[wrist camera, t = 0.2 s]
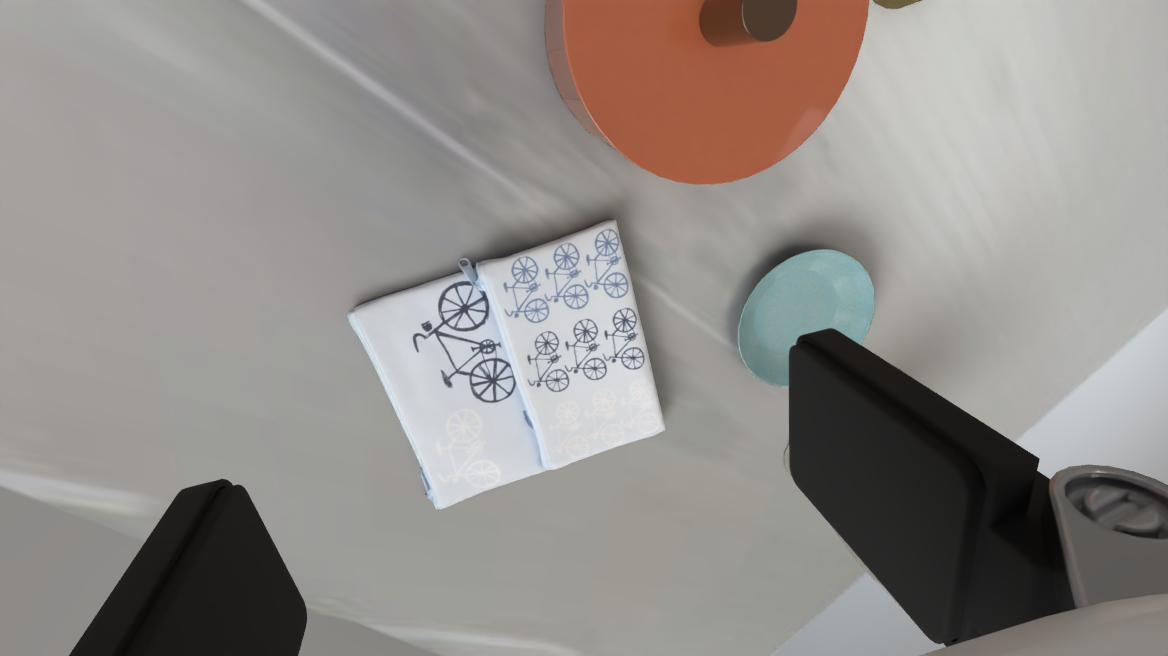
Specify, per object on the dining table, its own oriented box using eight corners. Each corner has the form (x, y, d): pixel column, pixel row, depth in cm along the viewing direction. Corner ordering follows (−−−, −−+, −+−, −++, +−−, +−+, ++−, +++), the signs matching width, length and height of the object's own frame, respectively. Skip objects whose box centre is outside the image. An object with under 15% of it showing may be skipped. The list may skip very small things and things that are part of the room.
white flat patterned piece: (661, 426, 48) (670, 441, 47) (430, 503, 47) (429, 521, 45) (615, 212, 40) (623, 218, 38) (333, 295, 38) (327, 306, 36)
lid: (527, -157, 25) (548, -220, 20) (862, -199, 27) (961, -267, 22) (586, 207, 32) (612, 232, 26) (849, 151, 34) (922, 164, 28)
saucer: (868, 336, 49) (886, 347, 47) (748, 398, 49) (761, 411, 47) (841, 216, 44) (860, 222, 42) (707, 284, 44) (719, 293, 42)
